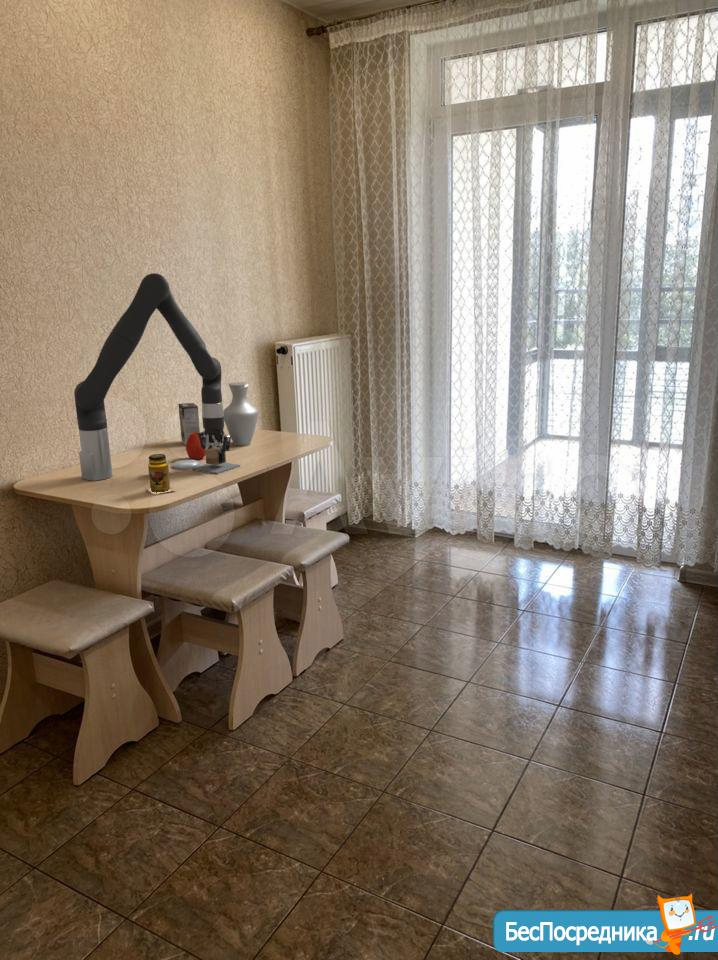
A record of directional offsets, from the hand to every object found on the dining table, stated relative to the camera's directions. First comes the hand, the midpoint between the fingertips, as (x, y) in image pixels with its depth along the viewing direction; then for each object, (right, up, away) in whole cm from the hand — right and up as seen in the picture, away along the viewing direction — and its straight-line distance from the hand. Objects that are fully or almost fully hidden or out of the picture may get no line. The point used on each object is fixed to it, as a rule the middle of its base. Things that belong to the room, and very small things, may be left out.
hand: (216, 461), depth 257 cm
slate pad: (0, -2, +1) cm, 2 cm away
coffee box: (-18, +8, +40) cm, 45 cm away
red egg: (-10, +1, +15) cm, 18 cm away
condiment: (-13, -10, -25) cm, 30 cm away
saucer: (-12, -1, +4) cm, 13 cm away
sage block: (-18, -5, -8) cm, 20 cm away
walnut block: (0, 0, 0) cm, 0 cm away
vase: (+3, +8, +37) cm, 38 cm away
